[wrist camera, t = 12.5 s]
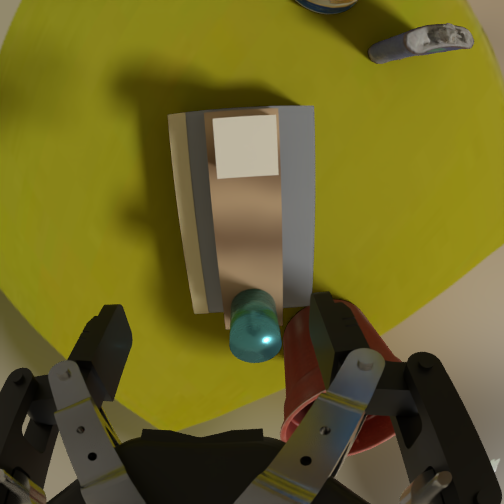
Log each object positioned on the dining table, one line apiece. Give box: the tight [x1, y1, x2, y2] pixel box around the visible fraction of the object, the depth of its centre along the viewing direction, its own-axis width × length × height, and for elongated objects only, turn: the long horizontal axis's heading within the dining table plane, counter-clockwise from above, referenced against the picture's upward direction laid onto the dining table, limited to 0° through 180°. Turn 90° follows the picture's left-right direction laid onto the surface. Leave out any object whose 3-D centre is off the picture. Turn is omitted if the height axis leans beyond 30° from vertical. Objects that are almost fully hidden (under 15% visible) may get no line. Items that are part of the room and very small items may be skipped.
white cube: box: [213, 115, 279, 179], centre depth 21 cm, size 4×4×4 cm
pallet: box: [204, 108, 283, 329], centre depth 28 cm, size 20×6×4 cm, turn 3°
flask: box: [368, 23, 474, 64], centre depth 22 cm, size 9×3×11 cm, turn 112°
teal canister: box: [230, 289, 282, 363], centre depth 27 cm, size 4×4×5 cm
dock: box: [168, 106, 315, 314], centre depth 32 cm, size 21×13×5 cm, turn 3°
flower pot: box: [280, 299, 402, 456], centre depth 35 cm, size 16×16×16 cm
